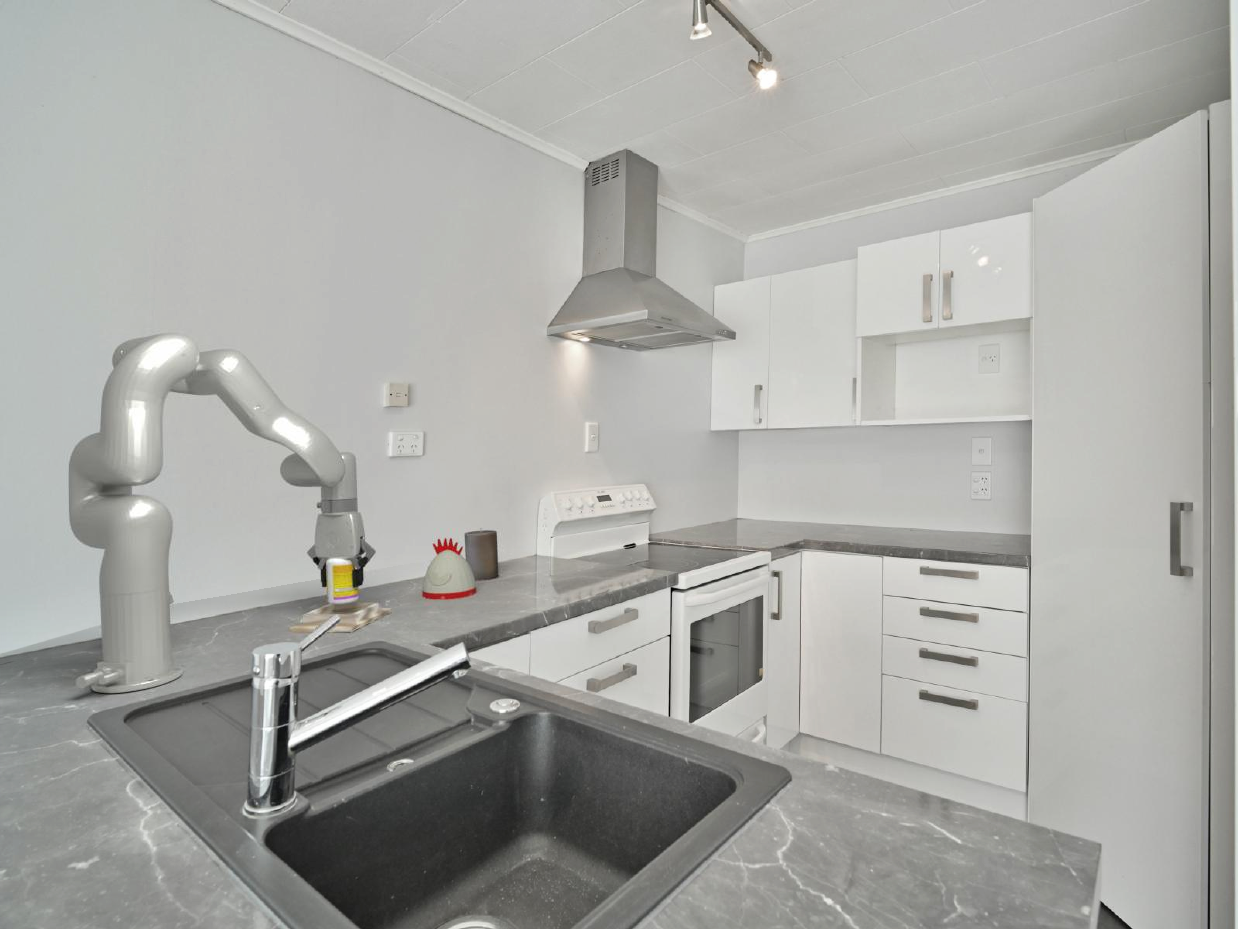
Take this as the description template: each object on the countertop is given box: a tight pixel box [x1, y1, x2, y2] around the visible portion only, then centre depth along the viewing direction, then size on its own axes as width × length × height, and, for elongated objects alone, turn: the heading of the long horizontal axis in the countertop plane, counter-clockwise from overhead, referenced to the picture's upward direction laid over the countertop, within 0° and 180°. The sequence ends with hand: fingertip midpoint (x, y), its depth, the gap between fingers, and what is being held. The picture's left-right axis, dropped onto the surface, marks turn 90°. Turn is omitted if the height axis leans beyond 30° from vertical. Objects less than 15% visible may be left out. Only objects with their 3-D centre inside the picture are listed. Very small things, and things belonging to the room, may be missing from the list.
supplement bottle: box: [326, 558, 360, 604], centre depth 151 cm, size 7×7×13 cm
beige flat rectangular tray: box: [289, 602, 392, 634], centre depth 152 cm, size 18×14×3 cm
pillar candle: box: [464, 527, 500, 581], centre depth 202 cm, size 10×10×15 cm
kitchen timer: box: [421, 537, 477, 601], centre depth 179 cm, size 14×14×15 cm
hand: (342, 585), depth 151 cm, fingers closed on supplement bottle, 6 cm apart
